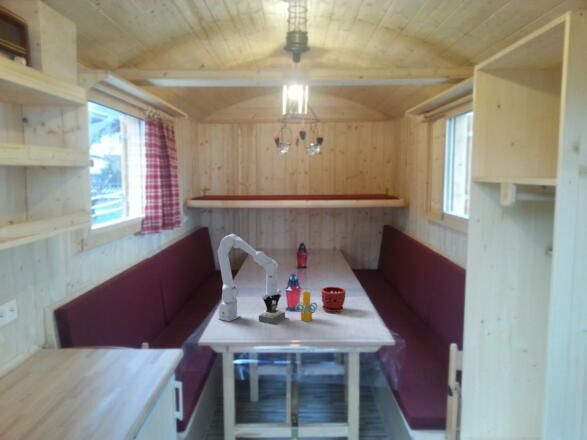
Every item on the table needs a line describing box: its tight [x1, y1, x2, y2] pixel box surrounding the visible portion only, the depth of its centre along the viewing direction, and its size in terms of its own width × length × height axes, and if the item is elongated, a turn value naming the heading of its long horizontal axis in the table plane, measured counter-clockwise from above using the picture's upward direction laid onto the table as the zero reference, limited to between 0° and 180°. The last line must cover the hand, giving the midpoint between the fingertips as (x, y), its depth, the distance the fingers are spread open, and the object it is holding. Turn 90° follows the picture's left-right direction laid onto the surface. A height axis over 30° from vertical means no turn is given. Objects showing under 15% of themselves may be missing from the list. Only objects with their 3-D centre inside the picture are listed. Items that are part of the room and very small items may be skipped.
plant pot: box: [321, 286, 346, 314], centre depth 240 cm, size 13×13×12 cm
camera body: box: [258, 308, 286, 325], centre depth 226 cm, size 12×8×4 cm
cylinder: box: [294, 289, 318, 322], centre depth 225 cm, size 12×10×15 cm
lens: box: [268, 301, 277, 313], centre depth 226 cm, size 5×5×6 cm
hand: (272, 309), depth 226 cm, fingers closed on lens, 5 cm apart
